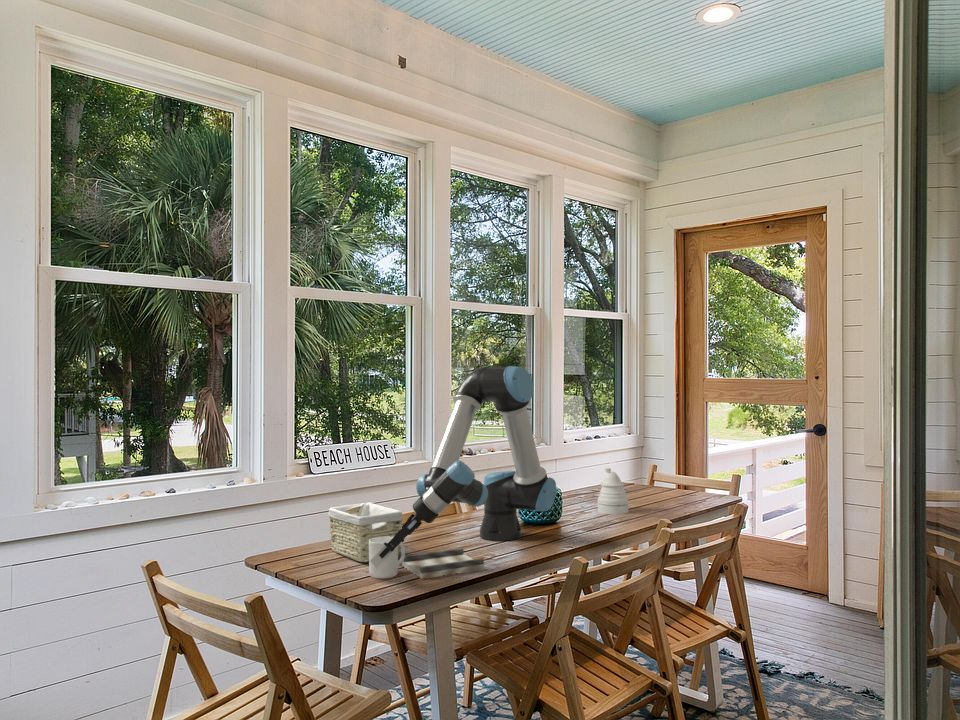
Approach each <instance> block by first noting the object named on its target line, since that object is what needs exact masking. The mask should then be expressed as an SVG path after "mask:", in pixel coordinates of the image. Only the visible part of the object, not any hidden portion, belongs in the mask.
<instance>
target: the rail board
mask: <svg viewBox="0 0 960 720" xmlns="http://www.w3.org/2000/svg"><path fill="white" fill-rule="evenodd" d="M484 560H485V559H484V558H482V557H481V558H475V559H474V558H472V557H470V556H468V555H467V554H465V553H464V548H454V549H445V550H439V551H431V552H422V553H415V554H408V555H405V557H404V560H403V562H402V563H401V564H402V565H401V566H402V567H403V566H404V567H403V568H405V569H406V568H407V569H406V570H408V571H409V570H410V571H409V572H410V573H412V572H413V573H412V574H414V575H415V574H416V575H415V576H417V577H418V576H419V577H418V578H419V579H421V580H422V579H423V580H424V578H425V579H429V578H439V577H444V576H443V575H445V576H450V575H449V574H451V575H456V574H455V573H458V574H463V573H462V572H465V573H470V571H471V572H476V571H484V570H485V561H484ZM468 571H469V572H468Z"/></svg>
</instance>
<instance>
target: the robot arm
mask: <svg viewBox="0 0 960 720" xmlns="http://www.w3.org/2000/svg"><path fill="white" fill-rule="evenodd" d="M456 389H457V390H456V392H455V394H454V397H453V398H452V399H453V403H454V404H453V408H452V411H451V413H450V416H449V418H448V421H447V423H446V427H445V429H444V433H443V434H442V436H441V440H440V441H439V445H438V448H437V451H436V453H435V456H434V459H433V461H432V464H431V467H430V469H429V471H428V473H425V474H421V475H420V477H418V479H417V481H416V484H415V486H416V493H417V495H418V496H419V497H418V499H417V500H416V501H415V502H413V504H412V510H413V511H414V512H415V514H414V513H412V514H410V516H409V517H408V518H407V520H406V521H405V522H404V523H403V524H402V526H401V530H399V531H398V533H396V534H395V536H393V538H392V539H391V540H390V542H389V543H386V542H385V543H384V545H385V546H384V547H383V548H382V549H381V550H380V551H379V552H378V553H377V554H376V555H375V556H374V557H373V558H372V559H371V560H370V562H371V563H372V564H373V565H374V566H375V567H376V568H377V567H378V566H379V565H380V564H381V563H382V562H383V561H384V560H385V559H386V558H387V556H388V555H389V554H390V553H391V552H392V551H394V549H395V548H396V547H397V546H398V545H399V544H400V543H401V542H403V543H404V542H405V539H406V538H407V537H408V535H411V534H412V533H414V531H415V530H417V529H418V528H419V527H421V525H422V524H423V522H422V521H424V522H425V523H427V524H431V523H432V522H434V520H436V519H437V518H438V517H439V514H442V513H443V512H444V511H445V510H446V509H447V508H448V506H450V505H451V503H462V504H467V506H472V507H475V508H476V507H481V506H483V505H484V511H483V512H484V515H483V519H482V520H481V526H480V529H479V537H480V538H481V539H483V540H487V541H488V540H489V541H494V542H495V541H496V542H497V541H498V542H499V541H501V542H502V541H504V542H505V541H512V540H513V541H514V540H518V539H520V538H521V537H522V535H523V533H522V532H523V531H522V527H521V524H520V521H519V518H518V515H517V510H525V511H536V512H547V511H549V510H550V509H551V508H552V506H553V505H554V502H555V499H556V495H557V483H556V479H554V478H553V477H548V475H547V471H546V469H545V468H544V467H543V466H541V463H540V460H539V455H538V451H537V450H538V449H537V446H536V443H535V442H536V441H535V439H534V434H533V429H532V425H531V420H530V417H529V416H530V415H529V412H528V408H527V407H528V406H529V405H530V400H531V399H532V397H533V395H534V382H533V378H532V375H531V374H530V373H529V371H528V370H527V369H526V368H524V367H522V366H515V365H509V366H482V367H478V368H476V369H474V370H473V371H471V372H470V373H469V374H468V375H467V376H466V377H464V379H463V380H462V382H461V383H460V385H459V386H458V388H456ZM485 402H492V403H494V407H495V411H497V412H498V413H500V414H501V416H502V420H503V424H504V429H505V432H506V436H507V440H508V444H509V448H510V452H511V456H512V460H513V463H514V469H515V470H505V471H503V470H502V471H496V472H490V473H487V474H486V475H484V478H483V479H484V481H483V483H482V481H480V480H478V479H476V478H475V477H476V474H475V473H474V471H473V470H472V469H471V468H470V466H469V465H468V464H466V463H465V462H463V461H462V460H460V457H461V456H462V455H461V454H462V452H463V449H464V447H465V443H466V440H467V438H468V435H469V433H470V430H471V427H472V424H473V421H474V419H475V416H476V412H479V411H480V410H481V409H482V405H483V404H484V403H485Z"/></svg>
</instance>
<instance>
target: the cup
mask: <svg viewBox="0 0 960 720" xmlns="http://www.w3.org/2000/svg"><path fill="white" fill-rule="evenodd" d="M392 538H393V537H389V536H384V537H375V538H372V539H370V540H369V561H368V564H369V565H368V567H369V570H368V572H369V576H370V577H371V578H374V579H381V580H382V579H390V578H393V577H395V576H397V575H398V574H399V565H401V564H402V562H403V560H404V557H405V556H406V548H405V544H404V542H401V543H400V551H401V555H400V558H399V555H398V546H397V547H396V548H395V549H394V551H392V552H391V553H390V554H389V555H388V556H387V558H386V559H385V560H384V561H383V562H382V563H381V564H380V565H379V566H378V567H377V568H376V567H375V566H374V565H373V564H372V563H371V562H370V560H371V559H372V558H373V557H374V556H375V555H376V554H377V553H378V552H379V551H380V550H381V549H382V548H383V547H384V546H385V545H384V543H385V542H386V543H389V542H390V540H391V539H392Z"/></svg>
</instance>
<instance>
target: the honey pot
mask: <svg viewBox="0 0 960 720" xmlns="http://www.w3.org/2000/svg"><path fill="white" fill-rule="evenodd" d="M611 470H612V469H611V468H609V467H608V468H607V467H605V468H604V471H605V473H606V474H607V475H606V477H605V478H604V481H602V482H600V484H599V485H600V486H601V489H600V490H599V494H598V497H597V512H598V513H600V512H601V513H600V514H605V513H607V514H606V515H624V514H628V513H629V498H628V495H627V493H626V489H625V488H624V486H625V483H624V482H622V480H621V479H620V477H619V475H618V474H617V473H616V472H614V471H611Z"/></svg>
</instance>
